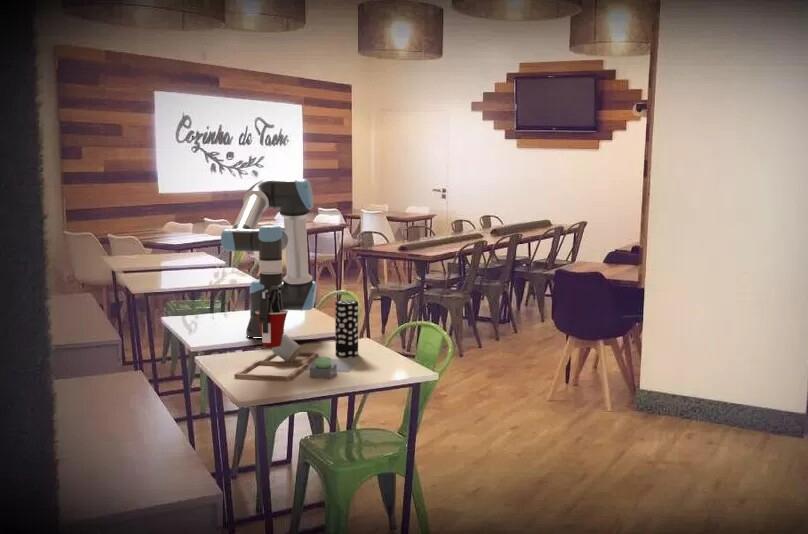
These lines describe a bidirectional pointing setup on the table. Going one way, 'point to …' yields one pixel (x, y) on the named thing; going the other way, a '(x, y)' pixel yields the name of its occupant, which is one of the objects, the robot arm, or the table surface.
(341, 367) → the mat
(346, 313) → the white-spotted black cylinder
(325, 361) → the button
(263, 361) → the wooden rectangular frame
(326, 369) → the button base
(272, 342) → the plastic cup
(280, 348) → the ceramic mug
